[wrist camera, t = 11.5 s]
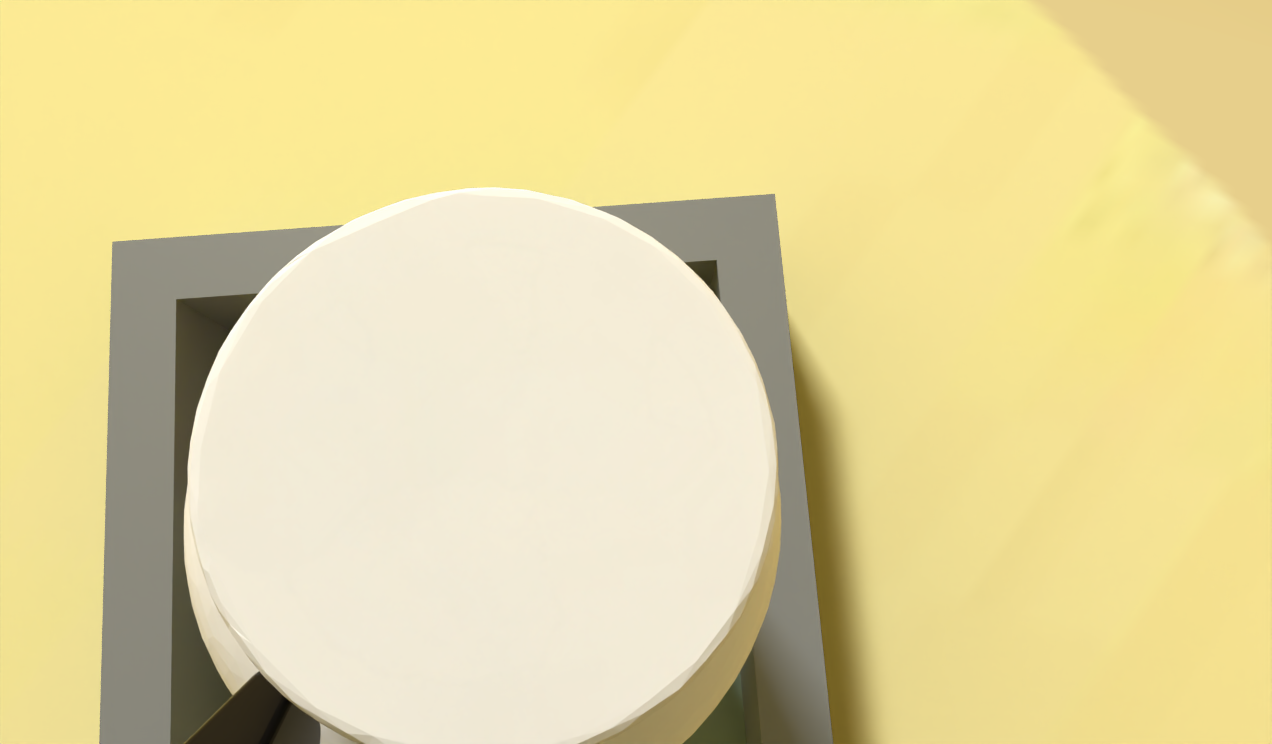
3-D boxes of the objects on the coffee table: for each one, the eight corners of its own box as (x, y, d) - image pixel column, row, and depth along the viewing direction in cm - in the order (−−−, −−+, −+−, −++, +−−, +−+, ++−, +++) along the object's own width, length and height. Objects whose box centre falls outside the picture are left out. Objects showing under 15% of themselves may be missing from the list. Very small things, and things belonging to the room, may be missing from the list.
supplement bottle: (312, 410, 21) (51, 75, 8) (636, 385, 22) (831, 56, 9) (326, 761, 19) (28, 991, 7) (674, 715, 20) (968, 842, 8)
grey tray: (807, 785, 21) (842, 828, 17) (190, 833, 20) (95, 888, 17) (753, 253, 23) (774, 194, 19) (195, 293, 23) (111, 241, 19)
